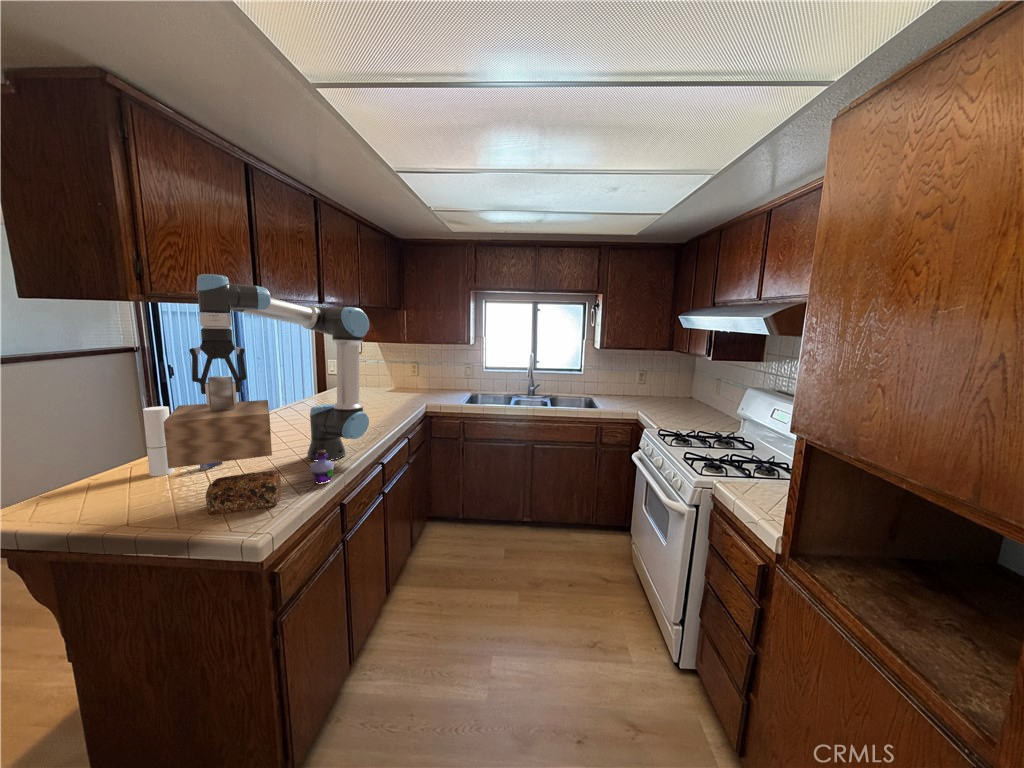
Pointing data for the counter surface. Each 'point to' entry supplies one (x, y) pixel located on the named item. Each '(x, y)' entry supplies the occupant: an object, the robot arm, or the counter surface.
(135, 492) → the counter surface
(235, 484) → the bread
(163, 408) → the cylindrical container
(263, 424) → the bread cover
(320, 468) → the potion bottle
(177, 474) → the counter surface
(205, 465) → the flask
